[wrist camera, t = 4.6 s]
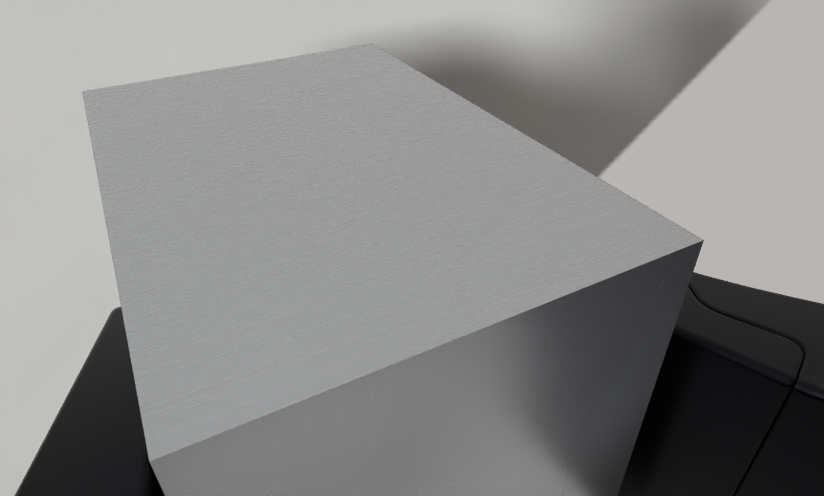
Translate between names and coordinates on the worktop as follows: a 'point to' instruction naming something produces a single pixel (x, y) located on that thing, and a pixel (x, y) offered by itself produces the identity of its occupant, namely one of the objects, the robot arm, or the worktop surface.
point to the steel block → (375, 287)
